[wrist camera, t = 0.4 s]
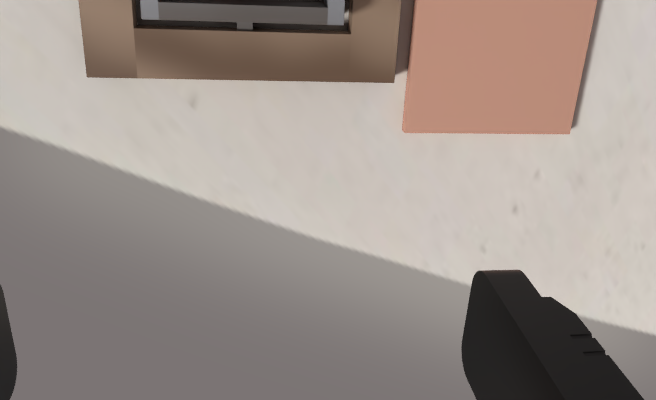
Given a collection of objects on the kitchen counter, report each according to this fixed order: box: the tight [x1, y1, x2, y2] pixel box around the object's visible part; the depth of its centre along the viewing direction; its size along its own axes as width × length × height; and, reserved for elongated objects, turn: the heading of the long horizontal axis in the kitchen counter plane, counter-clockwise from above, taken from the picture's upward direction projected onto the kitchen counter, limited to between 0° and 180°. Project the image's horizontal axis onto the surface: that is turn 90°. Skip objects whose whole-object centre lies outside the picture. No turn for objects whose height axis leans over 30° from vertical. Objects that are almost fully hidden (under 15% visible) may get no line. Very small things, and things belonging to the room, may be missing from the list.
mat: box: [402, 0, 597, 134], centre depth 35 cm, size 10×10×1 cm
